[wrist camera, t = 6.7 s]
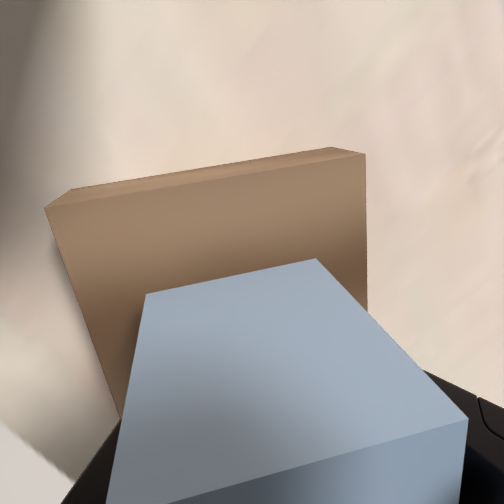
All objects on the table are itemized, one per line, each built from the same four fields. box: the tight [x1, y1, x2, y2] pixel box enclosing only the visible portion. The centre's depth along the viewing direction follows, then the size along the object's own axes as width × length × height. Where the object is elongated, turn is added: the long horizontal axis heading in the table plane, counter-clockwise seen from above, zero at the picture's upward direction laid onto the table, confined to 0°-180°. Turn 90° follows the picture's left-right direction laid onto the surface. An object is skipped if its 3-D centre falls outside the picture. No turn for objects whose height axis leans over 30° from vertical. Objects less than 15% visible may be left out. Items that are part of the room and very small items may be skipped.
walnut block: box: [44, 147, 367, 418], centre depth 13 cm, size 9×9×3 cm
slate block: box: [106, 258, 469, 504], centre depth 8 cm, size 4×4×6 cm
